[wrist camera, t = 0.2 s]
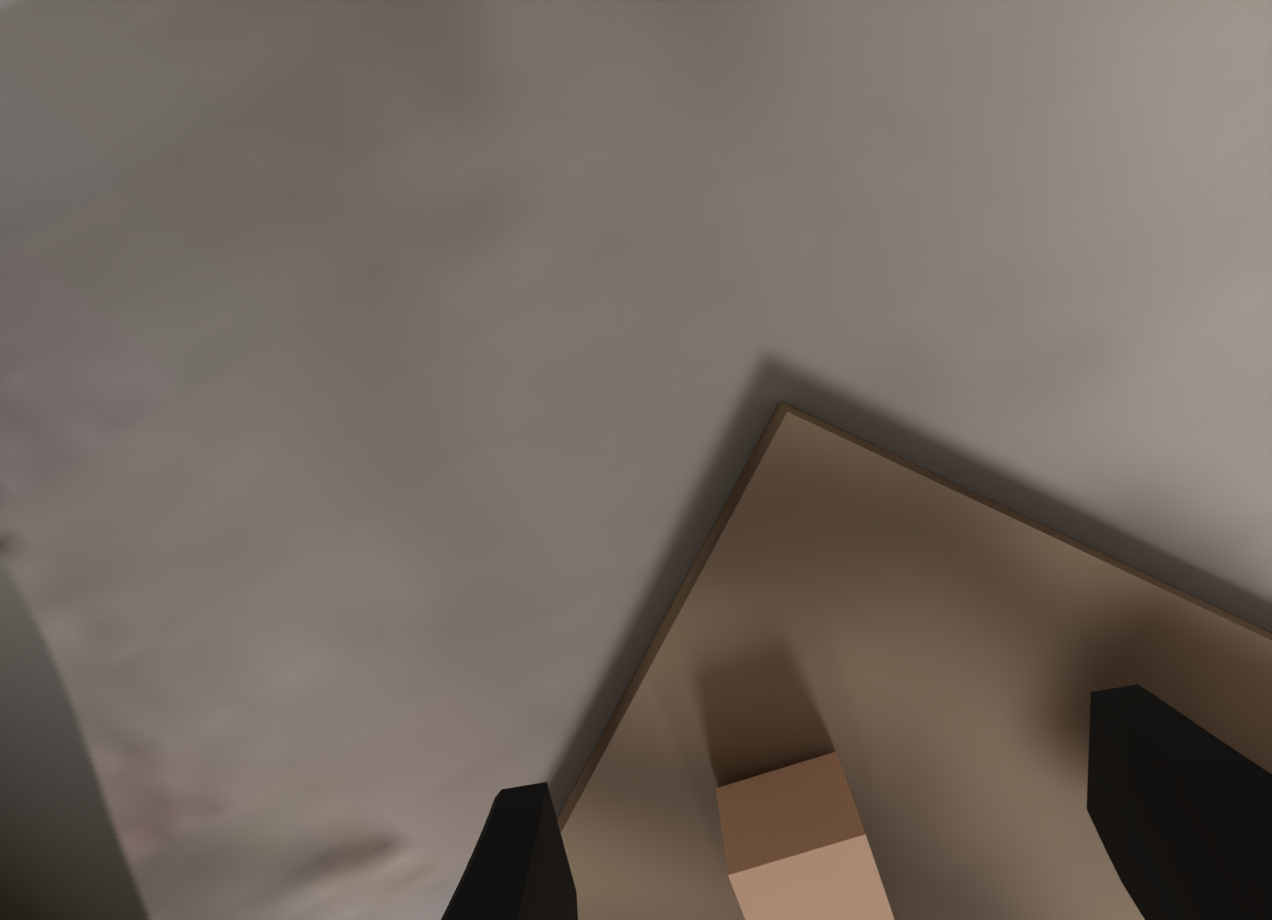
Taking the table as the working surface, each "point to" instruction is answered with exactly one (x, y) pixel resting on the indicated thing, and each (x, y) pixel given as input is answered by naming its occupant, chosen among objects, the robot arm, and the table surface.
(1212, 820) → the robot arm
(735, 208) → the table surface
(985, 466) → the table surface
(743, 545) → the walnut plate
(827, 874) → the pivot arm
